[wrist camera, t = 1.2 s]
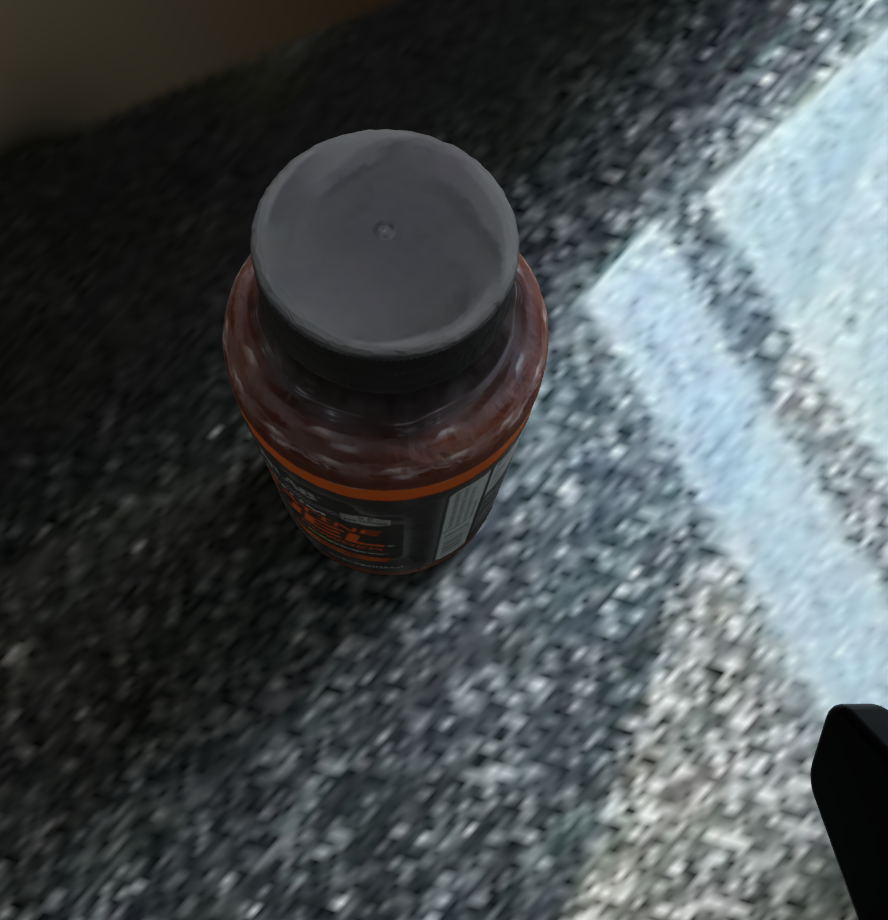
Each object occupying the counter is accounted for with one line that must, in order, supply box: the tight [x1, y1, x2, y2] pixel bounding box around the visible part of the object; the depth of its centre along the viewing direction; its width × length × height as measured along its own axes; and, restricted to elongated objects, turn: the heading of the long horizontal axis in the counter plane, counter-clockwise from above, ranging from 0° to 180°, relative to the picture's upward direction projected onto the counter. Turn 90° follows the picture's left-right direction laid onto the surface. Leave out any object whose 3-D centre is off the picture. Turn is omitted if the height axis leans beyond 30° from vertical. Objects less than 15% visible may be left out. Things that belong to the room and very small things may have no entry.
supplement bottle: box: [222, 129, 548, 575], centre depth 17 cm, size 6×6×11 cm
